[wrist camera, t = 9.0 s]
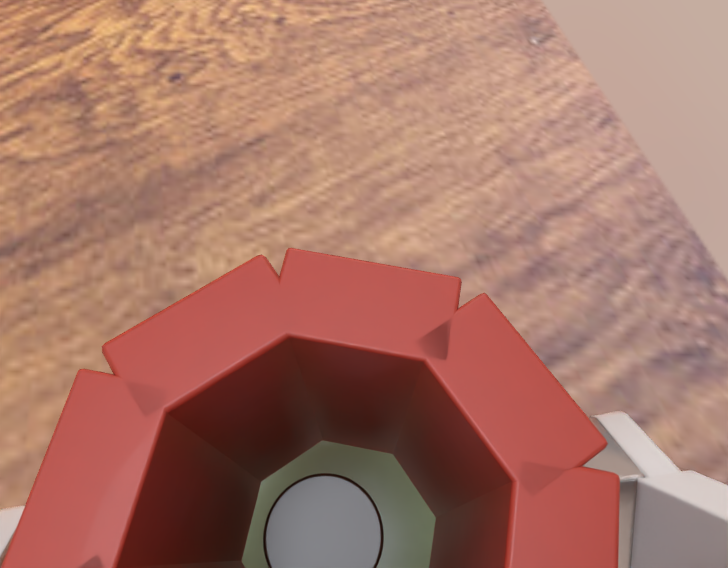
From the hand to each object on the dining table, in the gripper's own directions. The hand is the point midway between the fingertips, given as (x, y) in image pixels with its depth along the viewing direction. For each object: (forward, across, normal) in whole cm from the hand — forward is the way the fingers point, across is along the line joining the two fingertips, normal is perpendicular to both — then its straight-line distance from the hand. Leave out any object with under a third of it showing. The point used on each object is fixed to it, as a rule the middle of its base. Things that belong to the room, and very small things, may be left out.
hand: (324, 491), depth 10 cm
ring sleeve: (+2, 0, +3) cm, 4 cm away
